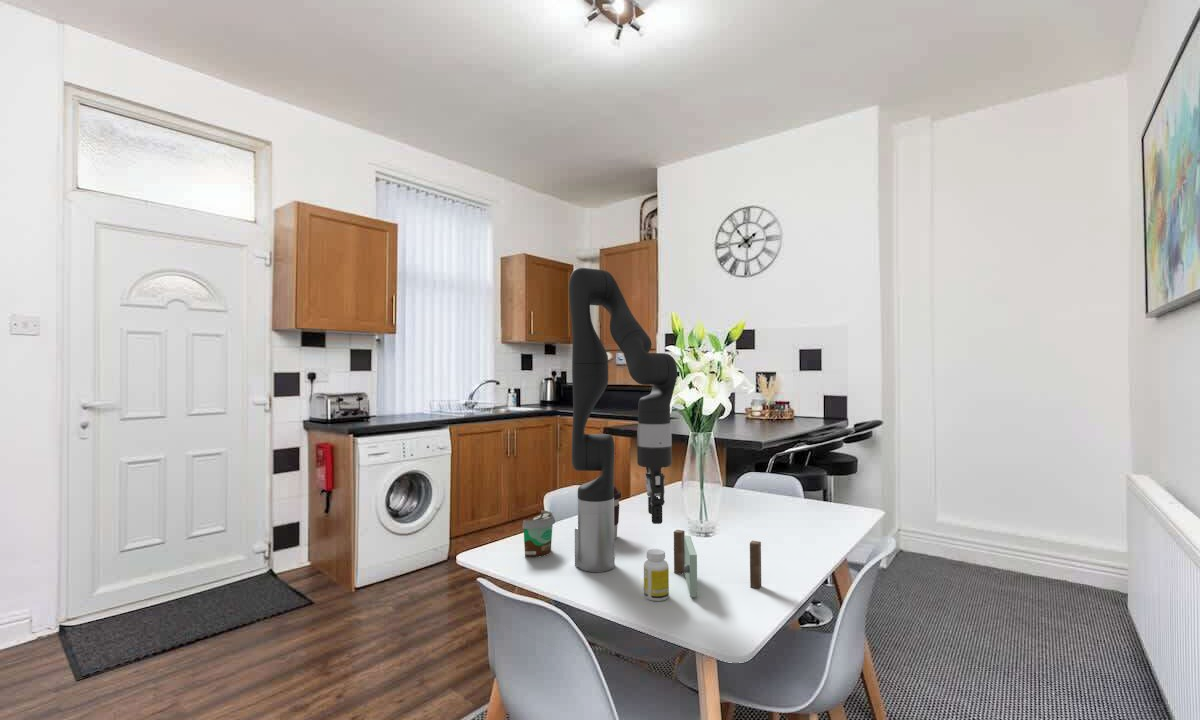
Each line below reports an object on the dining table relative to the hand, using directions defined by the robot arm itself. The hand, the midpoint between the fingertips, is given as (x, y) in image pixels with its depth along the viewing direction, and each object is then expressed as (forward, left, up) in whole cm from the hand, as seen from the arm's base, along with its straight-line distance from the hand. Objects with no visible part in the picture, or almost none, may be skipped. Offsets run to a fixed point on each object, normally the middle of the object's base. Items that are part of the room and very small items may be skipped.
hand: (655, 518), depth 121 cm
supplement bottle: (0, 0, -17) cm, 17 cm away
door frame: (+8, +16, -17) cm, 25 cm away
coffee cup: (-31, +32, -17) cm, 48 cm away
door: (+4, +9, -17) cm, 19 cm away
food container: (-39, +12, -17) cm, 44 cm away
